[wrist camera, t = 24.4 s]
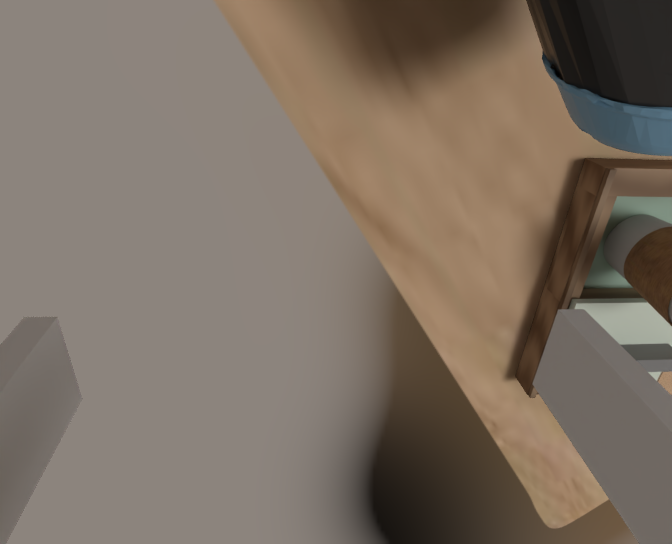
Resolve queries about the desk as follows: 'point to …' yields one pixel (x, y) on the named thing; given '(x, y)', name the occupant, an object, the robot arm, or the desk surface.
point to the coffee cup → (644, 259)
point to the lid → (634, 329)
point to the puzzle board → (595, 243)
